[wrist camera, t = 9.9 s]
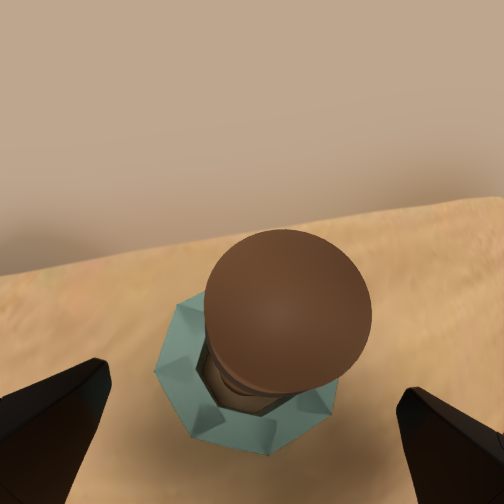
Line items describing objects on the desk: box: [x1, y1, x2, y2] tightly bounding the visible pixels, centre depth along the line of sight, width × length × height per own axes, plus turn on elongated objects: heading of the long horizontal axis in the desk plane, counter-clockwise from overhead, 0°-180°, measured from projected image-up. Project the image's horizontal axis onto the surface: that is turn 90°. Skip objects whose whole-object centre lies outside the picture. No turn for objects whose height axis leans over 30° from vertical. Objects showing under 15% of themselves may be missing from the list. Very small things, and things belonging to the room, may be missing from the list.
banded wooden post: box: [204, 229, 372, 398], centre depth 11 cm, size 4×4×13 cm
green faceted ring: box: [154, 291, 338, 456], centre depth 15 cm, size 10×10×4 cm
